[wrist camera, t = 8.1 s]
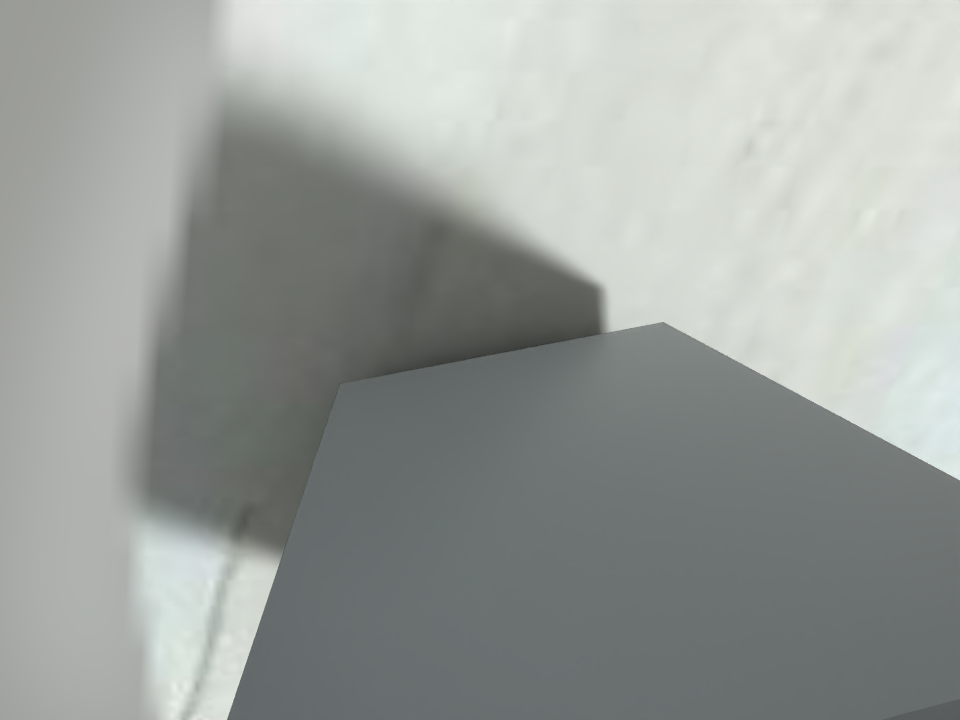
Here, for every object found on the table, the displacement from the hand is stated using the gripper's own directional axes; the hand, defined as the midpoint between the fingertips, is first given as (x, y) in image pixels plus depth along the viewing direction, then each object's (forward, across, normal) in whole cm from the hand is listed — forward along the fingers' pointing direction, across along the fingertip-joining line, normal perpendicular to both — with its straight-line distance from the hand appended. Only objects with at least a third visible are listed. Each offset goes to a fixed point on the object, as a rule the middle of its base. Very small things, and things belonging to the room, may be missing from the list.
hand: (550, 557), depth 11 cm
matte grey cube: (+2, 0, 0) cm, 2 cm away
